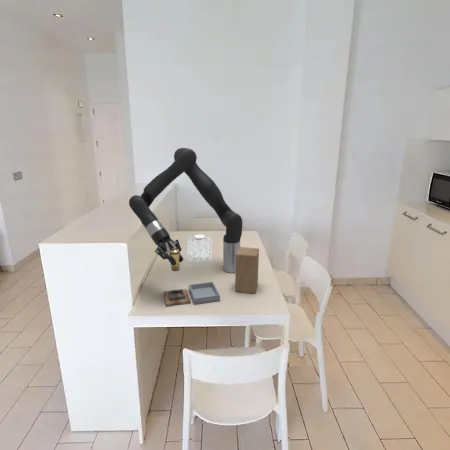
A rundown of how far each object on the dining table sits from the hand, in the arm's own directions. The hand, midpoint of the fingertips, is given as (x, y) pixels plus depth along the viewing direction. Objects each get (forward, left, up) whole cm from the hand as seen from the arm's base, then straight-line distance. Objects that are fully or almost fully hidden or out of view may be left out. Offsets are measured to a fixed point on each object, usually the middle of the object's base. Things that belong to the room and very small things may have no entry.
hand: (178, 262), depth 151 cm
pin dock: (+1, -1, -19) cm, 19 cm away
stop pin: (+1, -1, -4) cm, 4 cm away
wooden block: (-34, -2, -19) cm, 39 cm away
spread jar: (-21, -55, -19) cm, 62 cm away
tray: (-12, -1, -19) cm, 22 cm away
